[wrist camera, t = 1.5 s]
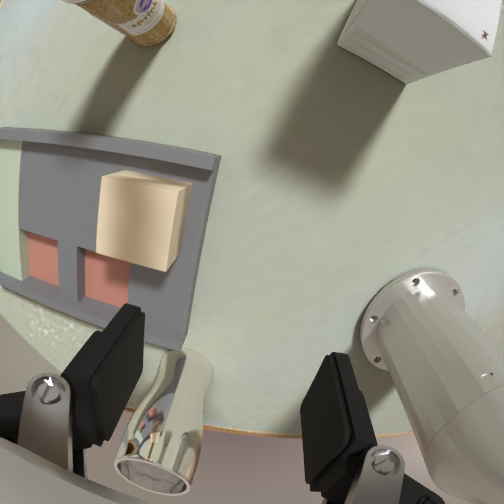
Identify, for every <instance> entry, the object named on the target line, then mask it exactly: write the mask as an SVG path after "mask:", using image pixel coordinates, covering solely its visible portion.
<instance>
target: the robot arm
mask: <svg viewBox="0 0 504 504" xmlns="http://www.w3.org/2000/svg"><path fill="white" fill-rule="evenodd" d="M144 329H145V313H144V312H141V308H140V307H138V306H135V305H132V304H128V303H125V304H124V305H123V306H122V307H121V309H120V310H119V311H118V312H117V314H116V315H115V316H114V317H113V319H112V320H111V321H110V322H109V324H108V325H107V326H106V328H105V329H104V330H103V331H102V332H101V331H95V332H94V333H93V334H92V335H91V337H90V338H89V339H88V340H87V342H86V343H85V344H84V345H83V347H82V348H81V349H80V351H79V352H78V353H77V354H76V356H75V357H74V358H73V360H72V361H71V362H70V363H69V365H68V366H67V367H66V369H65V370H64V371H63V373H62V374H61V376H59V375H57V374H53V373H42V374H38V375H36V376H35V377H33V378H32V379H31V380H30V381H29V382H28V385H27V387H26V391H22V392H16V393H9V394H2V395H0V504H156V503H152V502H149V501H146V500H142V499H139V498H136V497H133V496H130V495H127V494H124V493H121V492H118V491H116V490H113V489H111V488H108V487H105V486H103V485H100V484H98V483H96V482H93V481H91V480H88V478H87V464H86V449H87V448H90V447H91V446H92V444H95V445H98V446H100V447H101V445H102V443H103V441H104V440H106V441H109V439H110V438H111V436H112V434H113V432H114V429H115V427H116V425H117V423H118V421H119V419H120V417H121V415H122V412H123V410H124V408H125V406H126V404H127V402H128V400H129V398H130V396H131V394H132V392H133V390H134V388H135V386H136V384H137V382H138V380H139V378H140V376H141V373H142V369H143V349H144ZM360 341H361V346H362V348H363V351H364V353H365V355H366V357H367V359H368V360H369V361H370V362H371V363H372V364H373V365H374V366H376V367H377V368H379V369H382V370H385V371H389V373H390V376H391V378H392V380H393V382H394V385H395V387H396V390H397V392H398V394H399V397H400V399H401V402H402V404H403V406H404V409H405V411H406V414H407V416H408V419H409V421H410V424H411V427H412V429H413V432H414V434H415V437H416V440H417V442H418V445H419V448H420V450H421V453H422V455H423V458H424V462H425V465H426V467H427V470H428V473H429V475H430V477H431V479H432V481H433V482H434V483H435V485H436V486H437V487H438V488H439V489H441V490H442V491H443V492H445V493H447V494H449V495H451V496H454V497H457V498H460V499H463V500H466V501H468V502H471V503H473V504H504V355H503V354H502V353H501V352H500V350H499V349H498V348H497V347H496V346H495V345H494V343H493V342H492V341H491V340H490V339H489V338H488V337H487V335H486V334H485V333H484V332H483V331H482V329H480V328H479V327H478V325H477V324H476V323H475V322H474V321H473V320H472V319H471V318H470V317H469V316H468V315H467V313H466V312H465V301H464V295H463V292H462V290H461V288H460V286H459V285H458V283H457V282H456V281H455V280H454V279H453V278H452V277H451V276H449V275H448V274H446V273H445V272H443V271H440V270H436V269H419V270H414V271H411V272H408V273H405V274H403V275H401V276H400V277H398V278H396V279H394V280H393V281H392V282H390V283H389V284H388V285H386V286H385V287H384V288H383V289H382V290H381V291H380V292H379V293H378V294H377V295H376V296H375V298H374V299H373V300H372V302H371V303H370V305H369V306H368V308H367V310H366V312H365V314H364V317H363V320H362V323H361V328H360ZM300 414H301V426H302V439H303V452H304V468H305V481H306V483H307V484H310V491H315V492H321V495H322V497H324V500H323V502H322V504H445V502H444V501H443V499H442V498H441V497H440V496H438V495H437V494H436V493H434V492H432V491H431V490H429V489H428V488H426V487H424V486H423V485H421V484H420V483H418V482H417V481H415V480H414V479H412V478H411V477H409V476H408V475H406V474H405V473H404V470H405V462H404V460H403V458H402V456H401V455H400V453H399V452H398V451H396V450H395V449H393V448H391V447H389V446H384V445H377V441H376V437H375V434H374V430H373V427H372V423H371V420H370V416H369V413H368V409H367V406H366V403H365V399H364V396H363V394H362V392H361V391H360V390H359V388H358V385H357V381H356V378H355V375H354V372H353V368H352V365H351V362H350V359H349V356H348V355H347V354H343V353H337V352H332V353H331V354H330V355H326V356H325V358H324V360H323V362H322V364H321V366H320V368H319V370H318V372H317V374H316V376H315V378H314V380H313V382H312V384H311V386H310V388H309V390H308V392H307V394H306V396H305V398H304V400H303V402H302V404H301V409H300Z"/></svg>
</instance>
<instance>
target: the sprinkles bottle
mask: <svg viewBox="0 0 504 504" xmlns="http://www.w3.org/2000/svg"><path fill="white" fill-rule="evenodd" d="M63 1H65V2H67V3H73V4H76V5H78V6H80V7H81V8H83V9H84V10H86V11H88V12H89V13H90V14H91V15H92V16H94V17H96V18H97V19H99V20H101V21H102V22H104V23H106V24H107V25H109V26H110V27H112V28H114V29H115V30H117V31H119V32H120V33H122V34H124V35H127V36H128V37H130V38H131V39H132V40H133V41H134V42H135V43H136V44H139V45H141V46H152V45H155V44H158V43H160V42H162V41H164V40H165V39H166V38H167V37H168V36H169V35H170V34H171V33H172V32H173V30H174V28H175V25H176V15H175V12H174V11H173V10H172V9H171V8H170V7H169V6H167V4H166V3H165V2H164V0H63Z"/></svg>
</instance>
